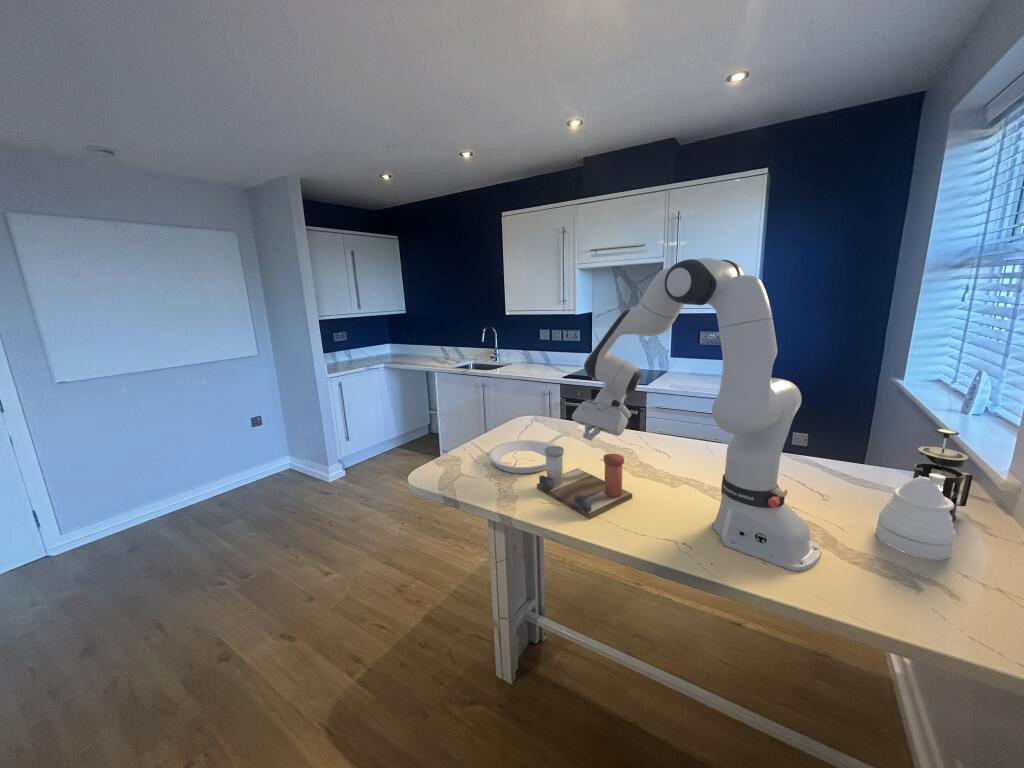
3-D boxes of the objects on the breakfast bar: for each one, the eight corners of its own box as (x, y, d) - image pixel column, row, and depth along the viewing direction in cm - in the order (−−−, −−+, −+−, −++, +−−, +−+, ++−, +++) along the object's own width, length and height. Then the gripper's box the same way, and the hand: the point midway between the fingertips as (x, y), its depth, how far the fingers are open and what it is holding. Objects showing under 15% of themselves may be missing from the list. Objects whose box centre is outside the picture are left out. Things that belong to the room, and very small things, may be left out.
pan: (475, 462, 151) (474, 450, 150) (545, 435, 176) (545, 425, 175) (522, 485, 132) (522, 471, 131) (594, 451, 157) (594, 439, 155)
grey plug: (567, 483, 127) (567, 449, 124) (553, 488, 124) (553, 454, 121) (555, 476, 132) (555, 444, 129) (541, 481, 128) (541, 449, 126)
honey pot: (965, 552, 91) (983, 479, 87) (927, 565, 88) (944, 489, 84) (898, 522, 103) (911, 457, 99) (862, 532, 100) (874, 465, 96)
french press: (914, 518, 105) (932, 435, 100) (894, 500, 113) (909, 423, 108) (974, 525, 101) (995, 438, 96) (948, 506, 110) (967, 426, 104)
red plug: (627, 493, 119) (628, 458, 117) (614, 499, 116) (614, 463, 113) (612, 486, 124) (612, 452, 121) (599, 491, 121) (599, 457, 118)
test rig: (632, 498, 120) (632, 484, 119) (589, 519, 110) (589, 504, 109) (577, 472, 138) (577, 460, 137) (537, 488, 128) (536, 475, 127)
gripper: (580, 394, 143) (560, 426, 139) (627, 405, 126) (605, 442, 123) (589, 403, 146) (569, 435, 143) (635, 415, 130) (615, 451, 127)
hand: (586, 438), depth 133 cm, fingers closed
